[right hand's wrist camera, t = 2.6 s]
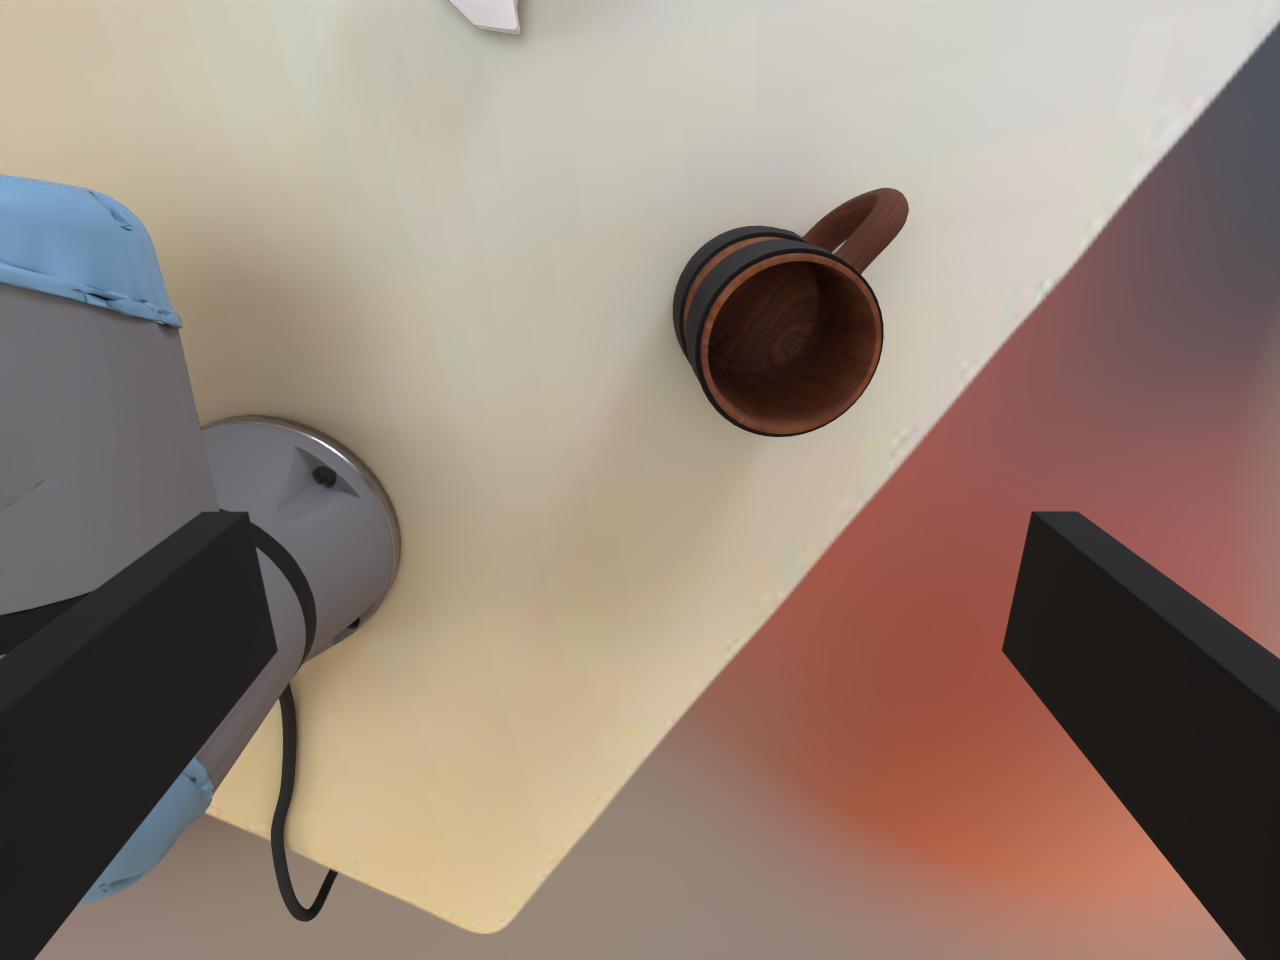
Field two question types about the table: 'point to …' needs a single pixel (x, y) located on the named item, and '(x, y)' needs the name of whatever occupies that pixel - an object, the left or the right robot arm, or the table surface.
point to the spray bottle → (491, 14)
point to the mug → (788, 316)
